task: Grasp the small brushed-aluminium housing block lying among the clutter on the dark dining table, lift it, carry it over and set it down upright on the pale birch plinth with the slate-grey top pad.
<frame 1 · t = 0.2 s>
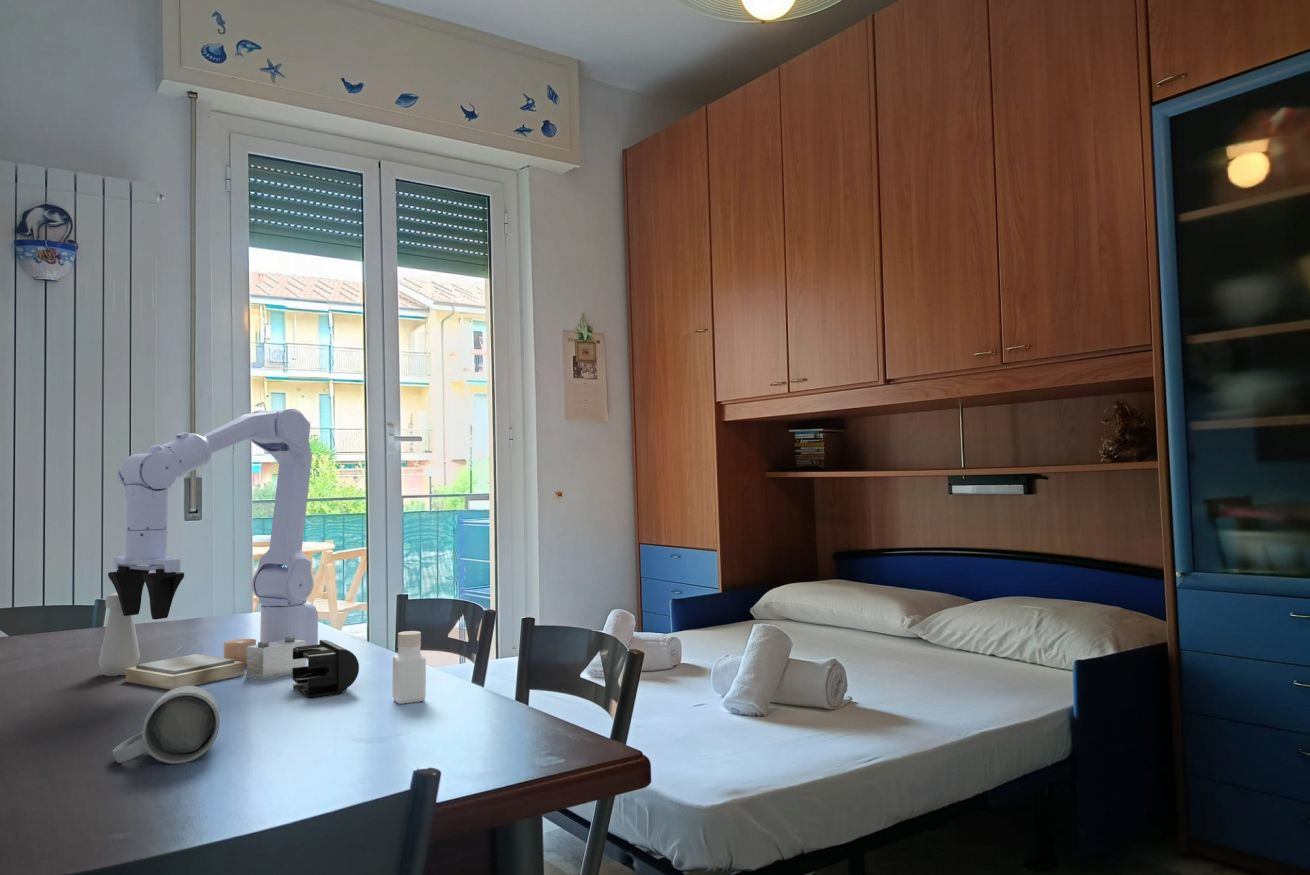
hand: (145, 616, 141), 10 cm above the table, fingers open, 7 cm apart
ceramic mug: (168, 758, 102), on the table
salt shaker: (118, 674, 147), on the table
pepper shaker: (408, 702, 128), on the table
alloy housing: (276, 674, 146), on the table
end cap: (324, 691, 135), on the table
peach rounded cylinder: (239, 665, 154), on the table
birch plinth: (185, 678, 143), on the table
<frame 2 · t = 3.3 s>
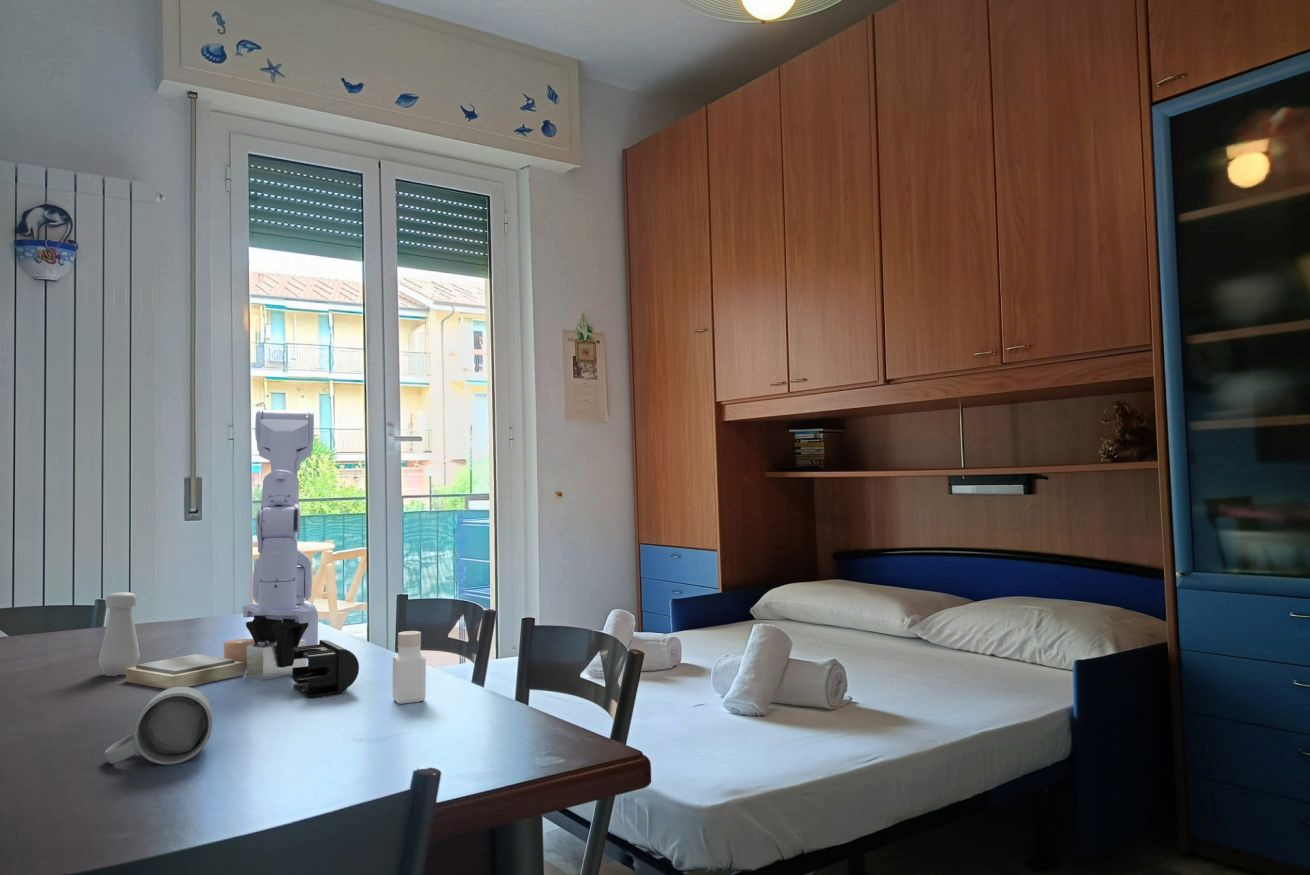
hand: (276, 665, 146), 1 cm above the table, fingers closed on alloy housing, 4 cm apart
alloy housing: (276, 674, 146), on the table, touching gripper
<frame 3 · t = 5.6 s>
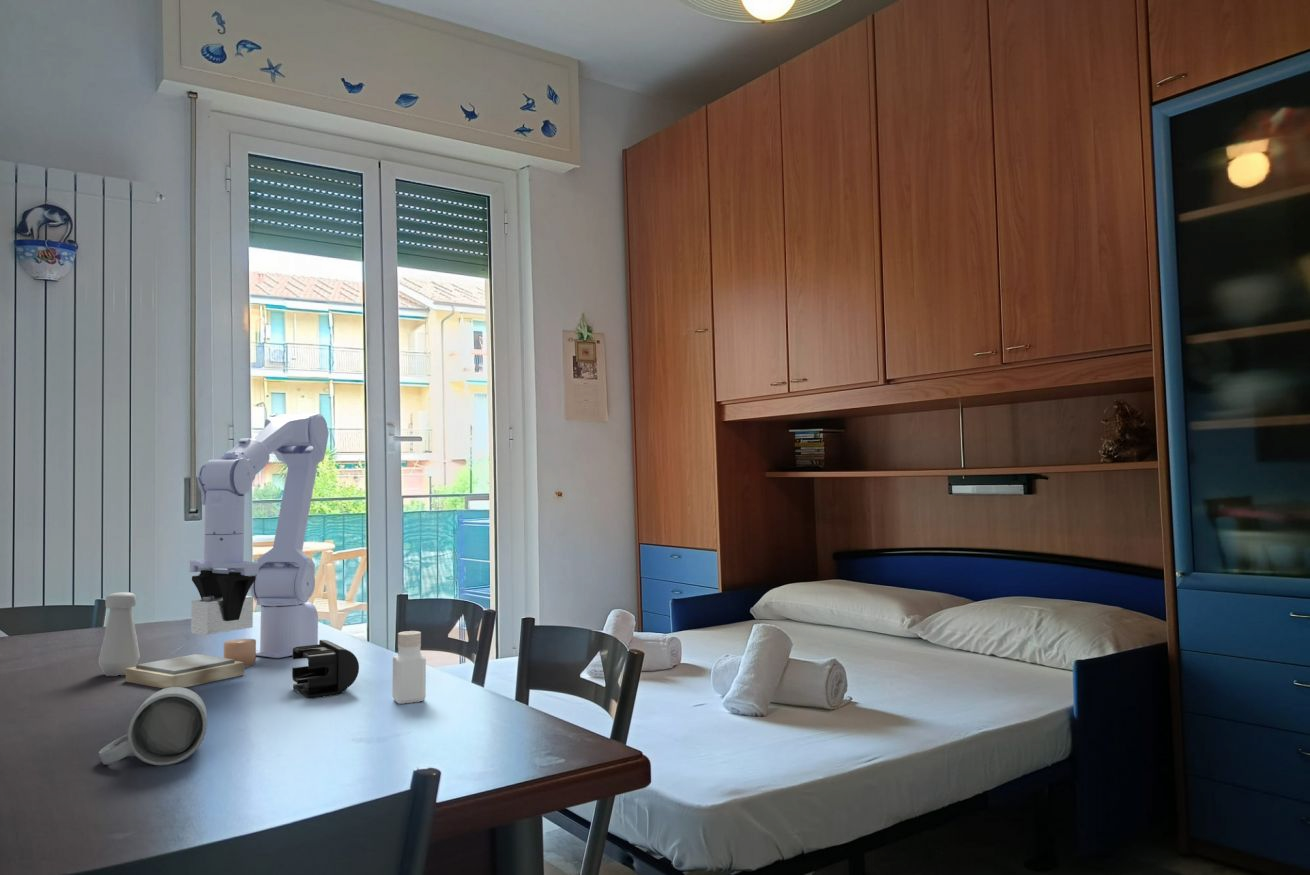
hand: (222, 619, 145), 9 cm above the table, fingers closed on alloy housing, 4 cm apart
alloy housing: (222, 630, 144), point 7 cm above the table, touching gripper
when the fingers open (5 cm above the table, at t = 7.9 s): alloy housing stays where it is, resting on birch plinth.
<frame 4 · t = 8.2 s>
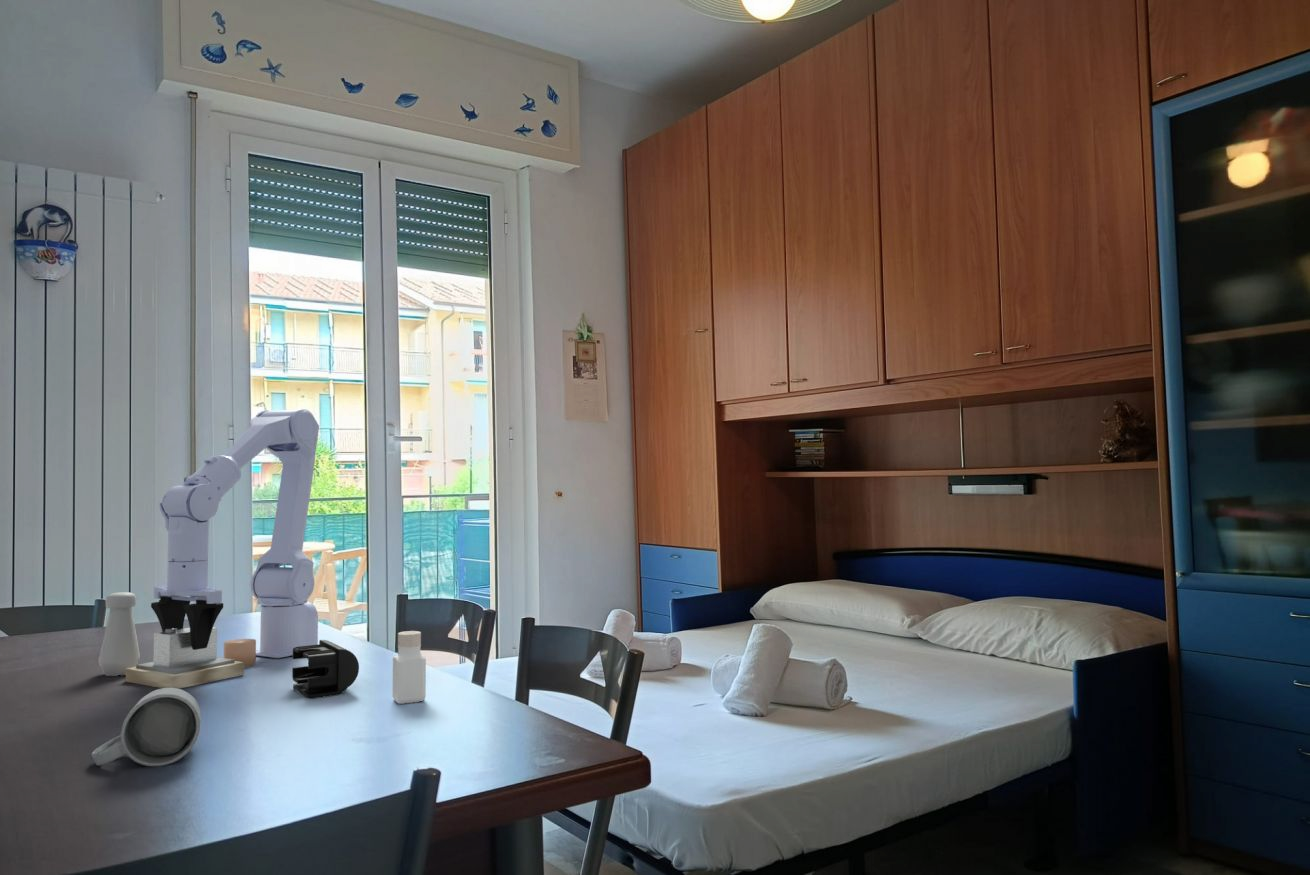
hand: (186, 646, 143), 5 cm above the table, fingers open, 6 cm apart
alloy housing: (185, 662, 143), point 2 cm above the table, touching birch plinth
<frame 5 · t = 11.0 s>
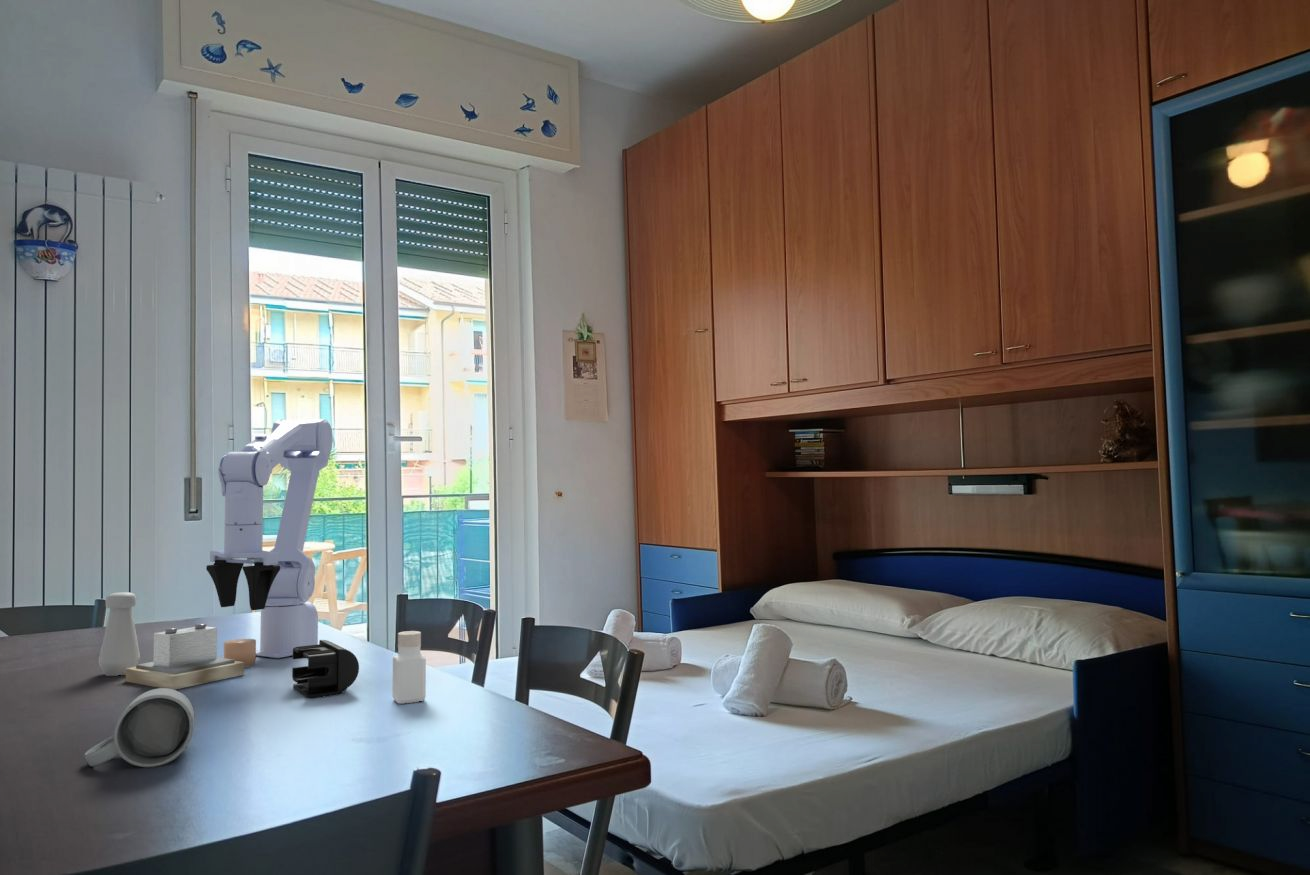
hand: (242, 608, 148), 10 cm above the table, fingers open, 7 cm apart
at the end: alloy housing inside the target area on the birch plinth (0.1 cm from its centre), point 2.5 cm above the birch plinth's base; alloy housing tilted 0°; the gripper is holding nothing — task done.
